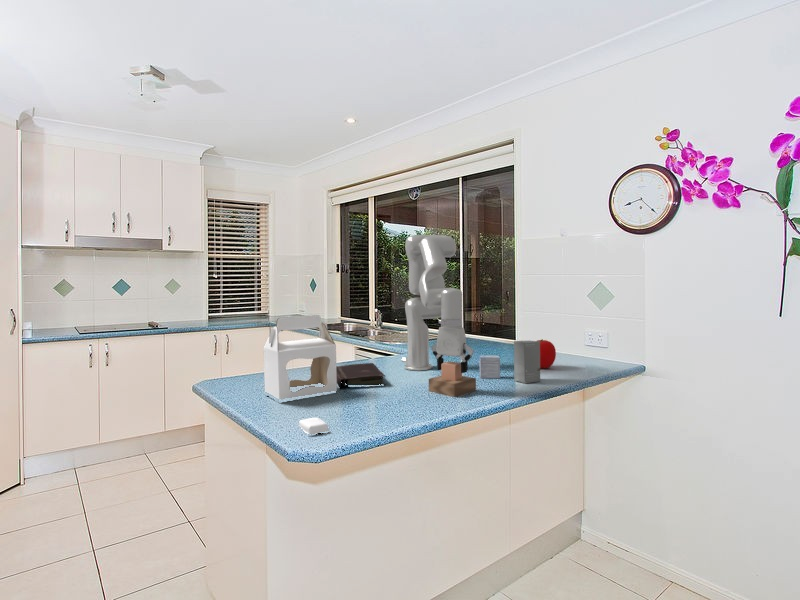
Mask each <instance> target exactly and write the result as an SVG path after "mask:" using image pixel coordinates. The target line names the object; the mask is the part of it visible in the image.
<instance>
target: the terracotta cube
mask: <svg viewBox="0 0 800 600" xmlns="http://www.w3.org/2000/svg"><path fill="white" fill-rule="evenodd" d="M440 371H441V372H440V373H441V374H440V376H441V379H445V380H453V381H456V380H458V379H461V378H462V376H463V373H461V362H458V361H446V362H444V363H442V364H441V370H440Z"/></svg>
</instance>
